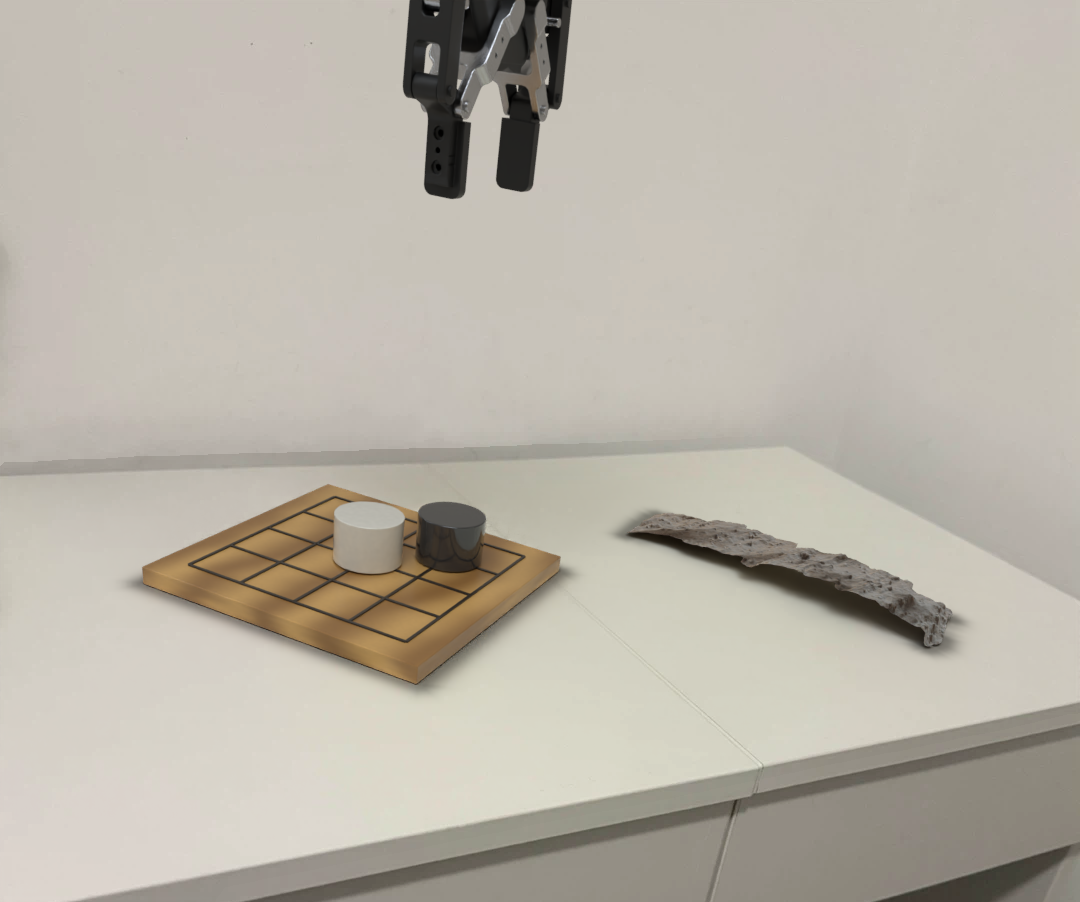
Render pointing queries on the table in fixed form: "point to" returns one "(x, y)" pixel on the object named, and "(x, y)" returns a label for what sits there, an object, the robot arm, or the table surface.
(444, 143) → the robot arm
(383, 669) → the board
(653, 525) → the stone fragment
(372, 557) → the pale stone
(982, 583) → the table surface
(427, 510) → the black stone
